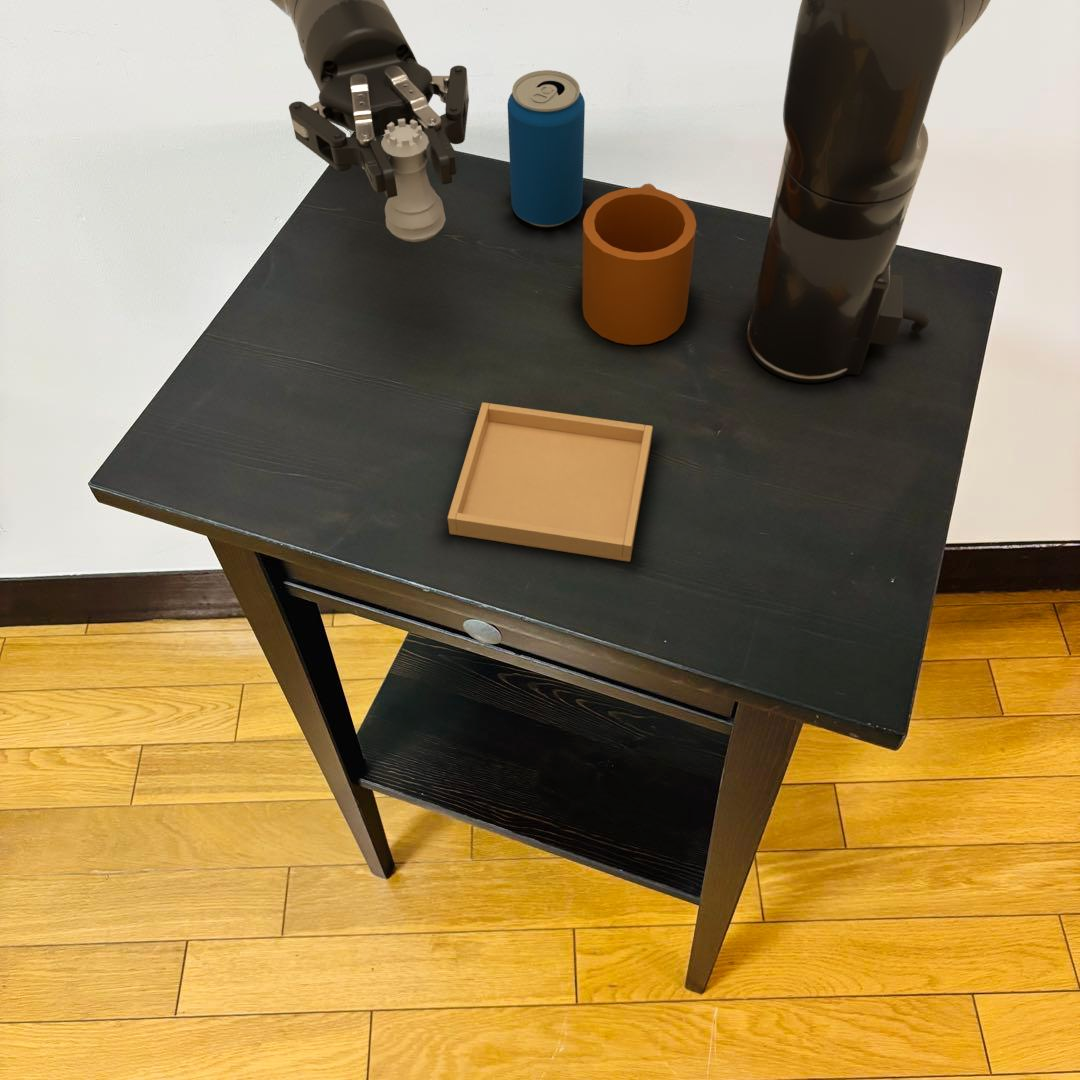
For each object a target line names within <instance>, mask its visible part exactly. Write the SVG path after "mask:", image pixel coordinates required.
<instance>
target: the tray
mask: <svg viewBox="0 0 1080 1080" xmlns="http://www.w3.org/2000/svg"><path fill="white" fill-rule="evenodd" d="M653 429H654V425H648V424H642V423H635V422H627V421H619V420H613V419H606V418H599V417H591V416H585V415H577V414H570V413H563V412H562V413H561V412H555V411H549V410H541V409H534V408H526V407H519V406H512V405H506V404H497V403H489V402H484V401H483V402H481V404H480V409H479V412H478V415H477V419H476V422H475V425H474V428H473V432H472V435H471V438H470V441H469V445H468V448H467V450H466V455H465V458H464V462H463V464H462V468H461V471H460V474H459V478H458V481H457V485H456V488H455V492H454V495H453V498H452V501H451V505H450V507H449V511H448V514H447V517H446V518H447V524H448V525H447V526H448V532H449V535H453V536H454V535H455V536H460V537H461V536H462V537H467V538H474V539H480V540H485V541H493V542H500V543H506V544H512V545H519V546H525V547H531V548H539V549H544V550H552V551H558V552H565V553H570V554H577V555H582V556H591V557H595V558H596V557H597V558H602V559H610V560H614V561H615V560H616V561H622V562H629V563H630V562H631V561H632V553H633V548H634V541H635V536H636V531H637V524H638V520H639V513H640V508H641V502H642V496H643V490H644V485H645V480H646V474H647V468H648V463H649V457H650V452H651V444H652V438H653Z"/></svg>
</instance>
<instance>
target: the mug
mask: <svg viewBox="0 0 1080 1080" xmlns="http://www.w3.org/2000/svg"><path fill="white" fill-rule="evenodd" d="M696 233H697V221H696V217H695V213H694V212H693V209H691V208H690V206H689V204H687V203H686V202H685V201H683V200H682V199H681V198H679V197H678V196H677V195H674V194H673V193H671V192H670V193H669V192H667V191H663V190H661V189H658V188H656V186H655V185H654V184H651V183H644V184H643V185H641V186H638V187H626V188H621V189H617V190H614V191H611V192H607V193H606V194H604V195H601V196H600V197H599V198H597V199H595V200H594V201H593V202H592V203H591V205H589V207H588V208H586V210H585V214H584V217H583V220H582V305H581V306H582V313H583V318H584V320H585V321H586V323H587V324H588V326H589V328H590V329H591V330H592V331H594V332H595V333H597V334H598V335H599V336H600V337H602V338H604V339H607V340H609V341H611V342H614V343H617V344H623V345H629V346H640V345H650V344H653V343H657V342H661V341H663V340H666V339H667V338H668V337H670V336H672V335H673V334H675V333H676V332H677V331H678V330H679V329H680V328H681V326H682V325H683V324H684V322H685V320H686V315H687V311H688V304H689V294H690V285H691V277H692V268H693V258H694V249H695V242H696Z"/></svg>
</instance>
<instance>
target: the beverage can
mask: <svg viewBox="0 0 1080 1080" xmlns="http://www.w3.org/2000/svg"><path fill="white" fill-rule="evenodd" d="M511 91H512V92H511V94H510V95H509V96H508V100H507V124H508V145H509V146H508V151H509V154H508V155H509V172H510V174H509V176H510V198H511V199H510V200H511V201H510V202H511V203H510V204H511V208H512V211H513V212H514V213H515V215H516V217H518V218H519V219H521V220H523V221H524V222H526V223H529V224H531V225H534V226H536V227H540V228H541V227H542V228H551V227H557V226H560V225H563V224H564V223H566V222H569V221H571V220H572V219H574V218H575V217H576V216H577V215H578V214H579V213H580V211H581V209H582V207H583V198H584V197H583V193H584V191H583V190H584V189H583V188H584V187H583V186H584V151H585V112H586V102H585V98H584V96H583V94H582V92H581V88H580V84H579V82H578V81H577V80H576V79H575V78H574V76H573V77H572V76H571V75H570V74H568V73H565V72H562V71H557V70H549V69H546V70H545V69H543V70H536V71H531V72H528V73H526V74H523V75H522V76H521V77H519V78H518V79H516V81H515V82H514V83H513V85H512V88H511Z"/></svg>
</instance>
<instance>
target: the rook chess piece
mask: <svg viewBox="0 0 1080 1080" xmlns="http://www.w3.org/2000/svg"><path fill="white" fill-rule="evenodd" d="M380 143H381V145H382V148H383V150H384V152H385V154H386V155H388V156H389V157H387V158H388V160H389V162H390V164H391V166H392V169H393V172H394V176H395V182H396V188H397V196H395V197H391V198H387V200H386V203H385V205H384V214H385V227H386V228H387V230H389V232H390V233H391V234H392V235H393V236H395V237H396V238H398V239H400V240H402V241H405V242H411V243H418V242H424V241H427V240H429V239H432V238H434V237H435V236H436V235H437V234H438V233H439V232H441V230H442V229H443V227H444V225H445V222H446V220H447V219H446V214H445V210H444V209H445V208H444V203H443V200H442V198H441V197H440V196H439V194H437V193H436V190H435V189H434V188H433V187H432V186H431V183H430V180H429V177H428V173H427V164H428V162H429V159H428V157H427V154H426V153H425V151H426V150H425V149H426V147H427V145H428V143H429V141H428V137H427V135H426V134H425V133H424V132H423V131H422V128H421V126H418V122H417V121H414V120H411V121H410V125H406V123H405V119H398V126H394V123H392V122H391V123H389V124H388V125H387V130H385V134H384V135H383V137H382V139H381V141H380Z"/></svg>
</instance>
